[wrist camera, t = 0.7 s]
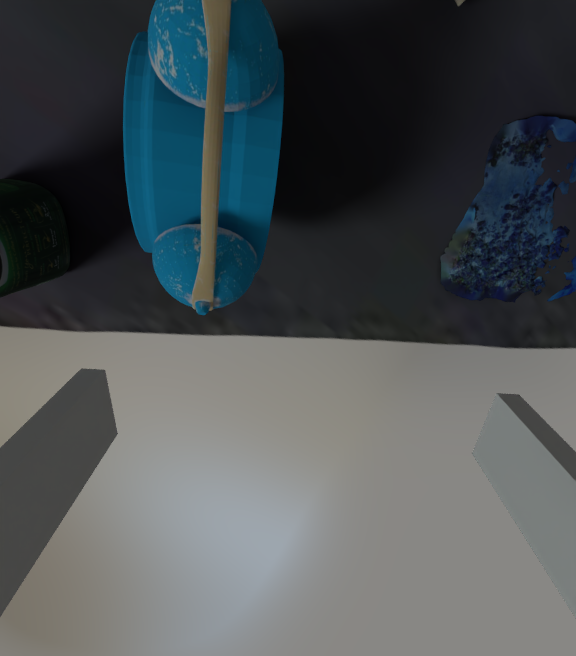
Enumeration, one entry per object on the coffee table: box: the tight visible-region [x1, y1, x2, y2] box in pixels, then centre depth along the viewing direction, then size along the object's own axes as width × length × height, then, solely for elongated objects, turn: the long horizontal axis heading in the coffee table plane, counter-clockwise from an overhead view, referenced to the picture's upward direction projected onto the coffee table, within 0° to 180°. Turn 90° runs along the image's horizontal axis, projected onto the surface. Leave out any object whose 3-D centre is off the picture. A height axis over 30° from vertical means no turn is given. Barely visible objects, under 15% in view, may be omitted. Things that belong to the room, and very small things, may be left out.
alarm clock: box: [123, 0, 284, 315], centre depth 23 cm, size 17×10×20 cm, turn 171°
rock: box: [440, 116, 576, 302], centre depth 33 cm, size 15×17×2 cm
